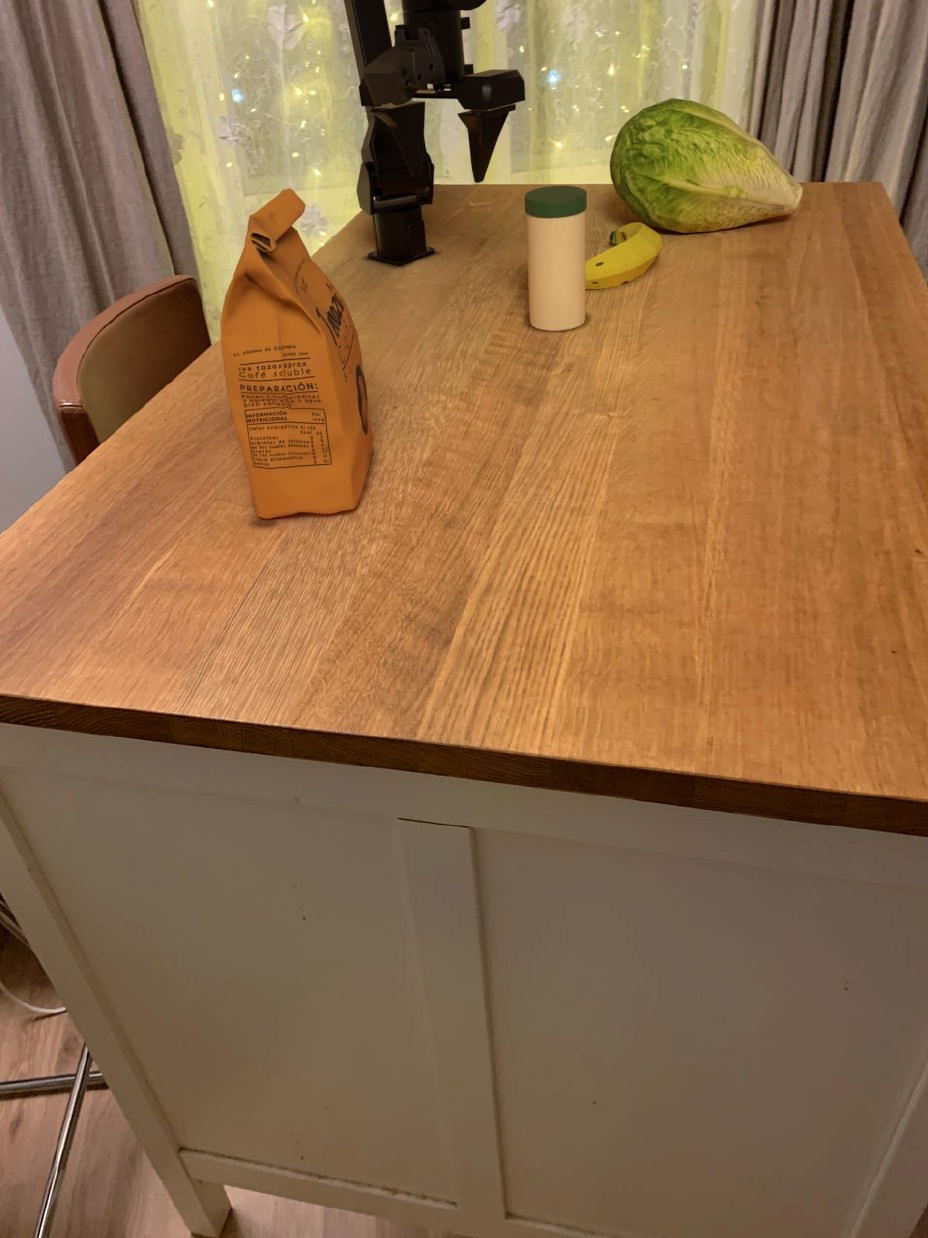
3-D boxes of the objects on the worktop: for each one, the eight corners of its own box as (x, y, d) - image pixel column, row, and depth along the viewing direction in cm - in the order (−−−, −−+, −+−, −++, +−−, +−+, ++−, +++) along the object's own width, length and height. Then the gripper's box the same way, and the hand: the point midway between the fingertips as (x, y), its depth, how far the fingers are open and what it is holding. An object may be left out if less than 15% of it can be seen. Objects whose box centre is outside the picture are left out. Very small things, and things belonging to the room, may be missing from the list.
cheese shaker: (521, 329, 104) (516, 201, 96) (537, 308, 109) (534, 184, 101) (578, 332, 102) (577, 202, 94) (592, 311, 107) (593, 185, 99)
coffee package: (393, 449, 84) (358, 179, 71) (363, 527, 75) (314, 229, 61) (283, 450, 86) (228, 185, 73) (239, 525, 76) (165, 235, 63)
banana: (656, 207, 122) (537, 232, 125) (665, 240, 108) (531, 268, 111) (660, 244, 124) (544, 268, 127) (670, 282, 110) (538, 307, 113)
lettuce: (774, 235, 135) (776, 284, 124) (602, 182, 135) (588, 226, 124) (824, 123, 125) (832, 166, 113) (638, 66, 125) (627, 103, 113)
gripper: (308, 21, 97) (334, 189, 106) (443, 15, 86) (460, 203, 95) (388, 8, 103) (406, 168, 112) (524, 1, 92) (532, 178, 101)
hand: (447, 179), depth 105 cm, fingers open, 9 cm apart
